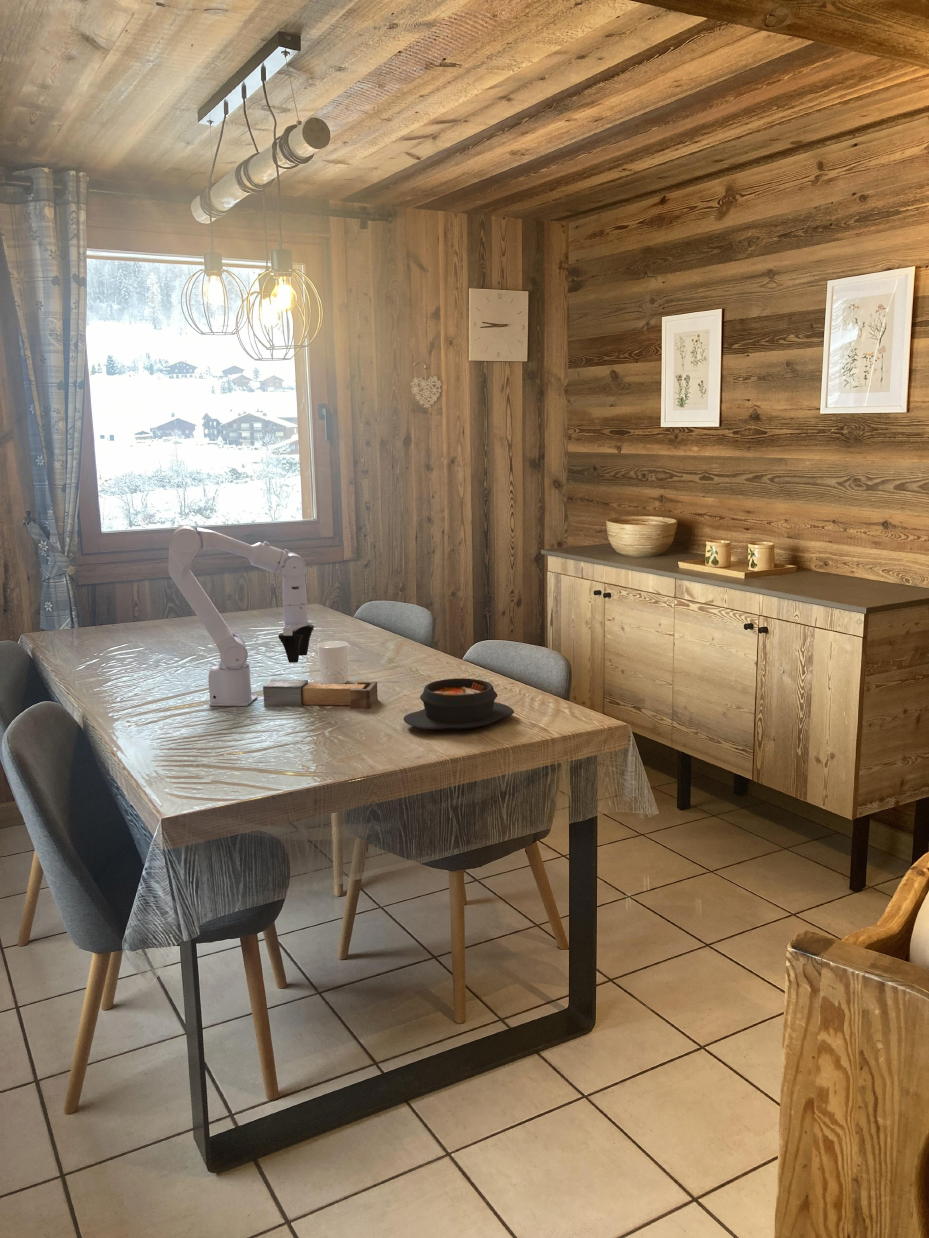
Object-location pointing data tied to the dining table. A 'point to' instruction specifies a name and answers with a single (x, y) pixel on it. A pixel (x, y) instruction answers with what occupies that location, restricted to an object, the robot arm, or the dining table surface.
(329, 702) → the tan wooden bar
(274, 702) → the sleeve
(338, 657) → the white cup
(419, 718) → the casserole
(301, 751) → the dining table surface
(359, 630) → the dining table surface
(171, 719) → the dining table surface
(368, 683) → the socket
